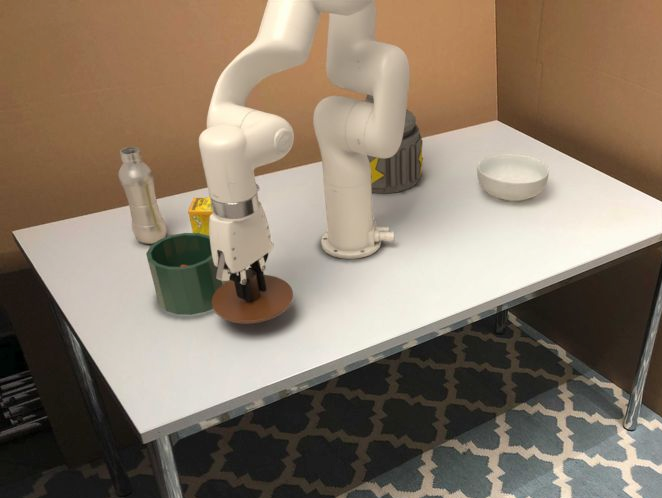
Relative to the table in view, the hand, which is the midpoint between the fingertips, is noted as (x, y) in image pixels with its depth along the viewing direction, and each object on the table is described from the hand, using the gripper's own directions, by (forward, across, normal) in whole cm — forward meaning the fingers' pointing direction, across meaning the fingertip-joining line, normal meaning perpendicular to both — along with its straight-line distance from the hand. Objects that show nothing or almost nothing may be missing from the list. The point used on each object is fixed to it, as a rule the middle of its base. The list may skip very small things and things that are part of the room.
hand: (251, 293), depth 137 cm
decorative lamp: (+8, -62, -15) cm, 64 cm away
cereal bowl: (+8, -72, +15) cm, 74 cm away
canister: (+6, +1, -15) cm, 17 cm away
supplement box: (+7, -14, -24) cm, 29 cm away
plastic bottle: (+7, -10, -38) cm, 40 cm away
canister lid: (+1, 0, 0) cm, 1 cm away
